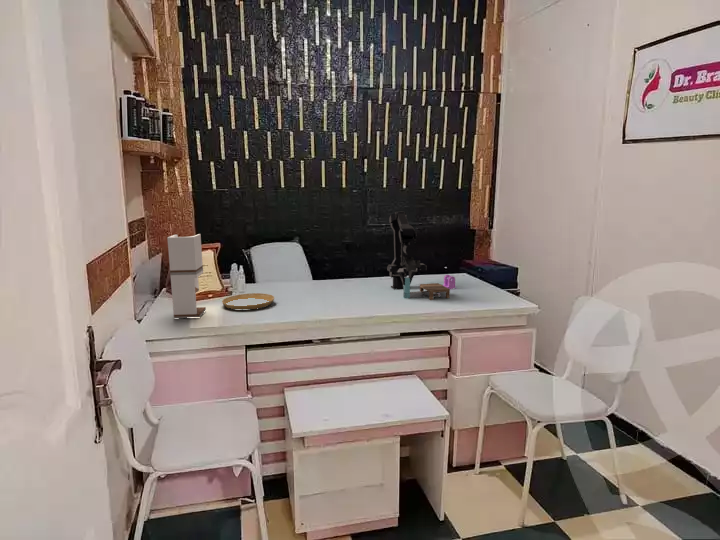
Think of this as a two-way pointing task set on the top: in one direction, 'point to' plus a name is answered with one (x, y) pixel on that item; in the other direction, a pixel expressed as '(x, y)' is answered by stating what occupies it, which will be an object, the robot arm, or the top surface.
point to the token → (436, 294)
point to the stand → (435, 289)
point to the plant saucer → (246, 296)
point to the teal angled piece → (413, 294)
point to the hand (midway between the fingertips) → (406, 284)
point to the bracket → (449, 282)
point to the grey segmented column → (185, 274)
